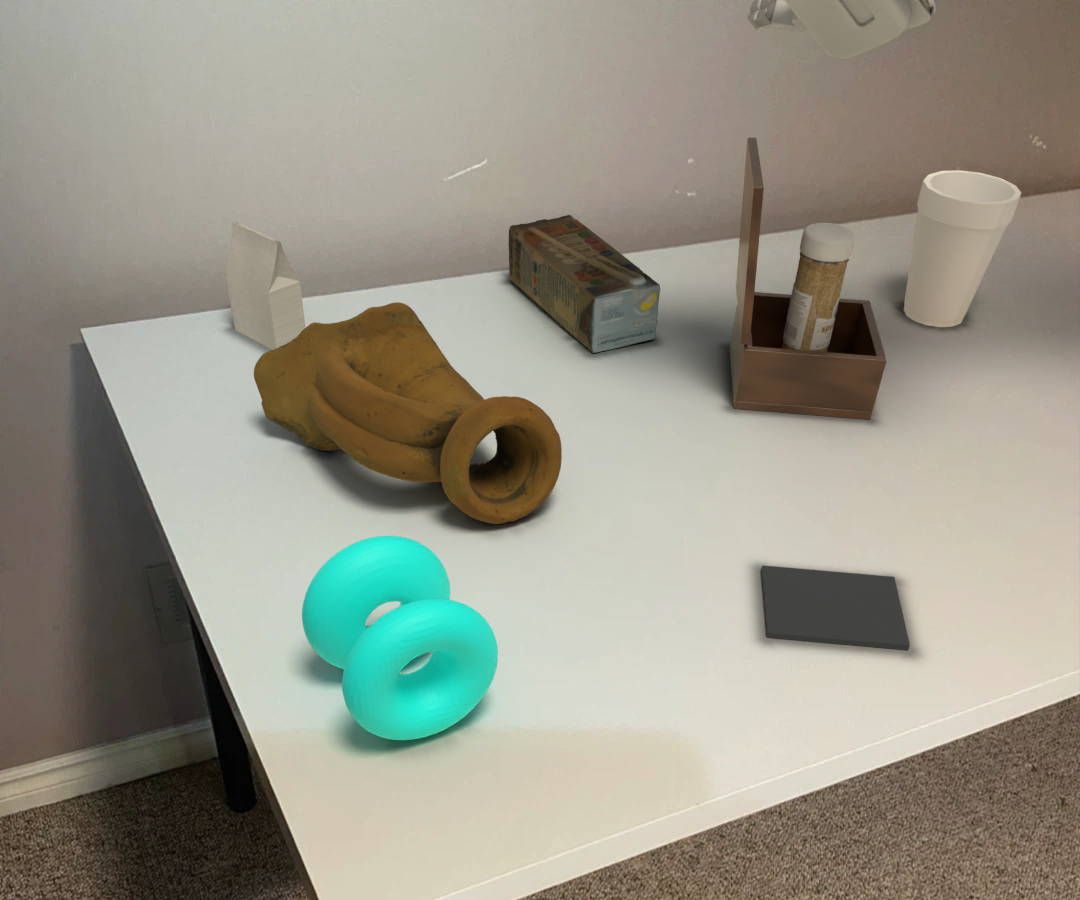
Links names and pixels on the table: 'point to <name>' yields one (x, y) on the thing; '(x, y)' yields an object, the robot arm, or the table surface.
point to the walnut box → (808, 363)
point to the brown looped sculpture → (409, 412)
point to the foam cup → (955, 242)
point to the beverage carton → (583, 283)
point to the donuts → (399, 638)
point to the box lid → (749, 239)
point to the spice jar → (817, 286)
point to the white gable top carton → (263, 289)
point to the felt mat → (833, 607)
